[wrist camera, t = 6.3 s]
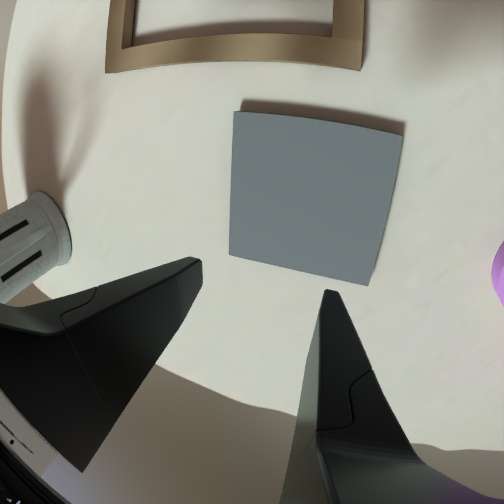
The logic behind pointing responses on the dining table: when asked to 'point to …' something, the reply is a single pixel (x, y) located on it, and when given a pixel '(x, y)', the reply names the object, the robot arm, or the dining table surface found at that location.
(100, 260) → the dining table surface
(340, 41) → the frame
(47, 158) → the dining table surface
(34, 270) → the glass holder
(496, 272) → the bracket
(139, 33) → the dining table surface
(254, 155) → the mat
